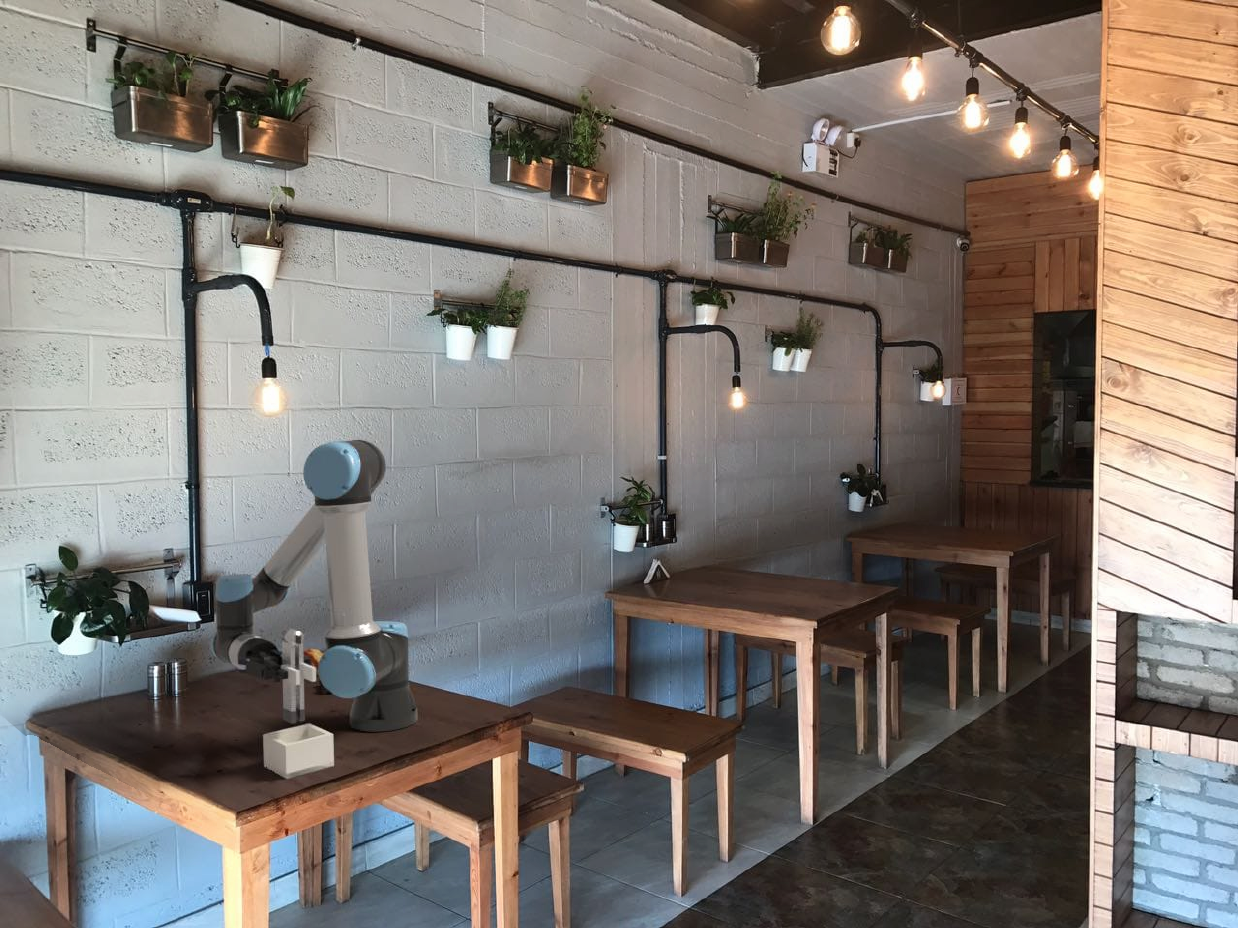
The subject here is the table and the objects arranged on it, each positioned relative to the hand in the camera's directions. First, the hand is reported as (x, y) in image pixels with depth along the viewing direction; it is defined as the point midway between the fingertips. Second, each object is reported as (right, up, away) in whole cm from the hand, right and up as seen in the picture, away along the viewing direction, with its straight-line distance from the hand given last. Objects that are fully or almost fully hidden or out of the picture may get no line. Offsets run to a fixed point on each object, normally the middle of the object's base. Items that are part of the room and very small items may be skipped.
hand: (306, 676), depth 195 cm
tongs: (-4, -10, +5) cm, 11 cm away
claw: (-7, -17, +58) cm, 61 cm away
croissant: (-22, -16, +78) cm, 82 cm away
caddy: (-3, -19, +5) cm, 20 cm away
